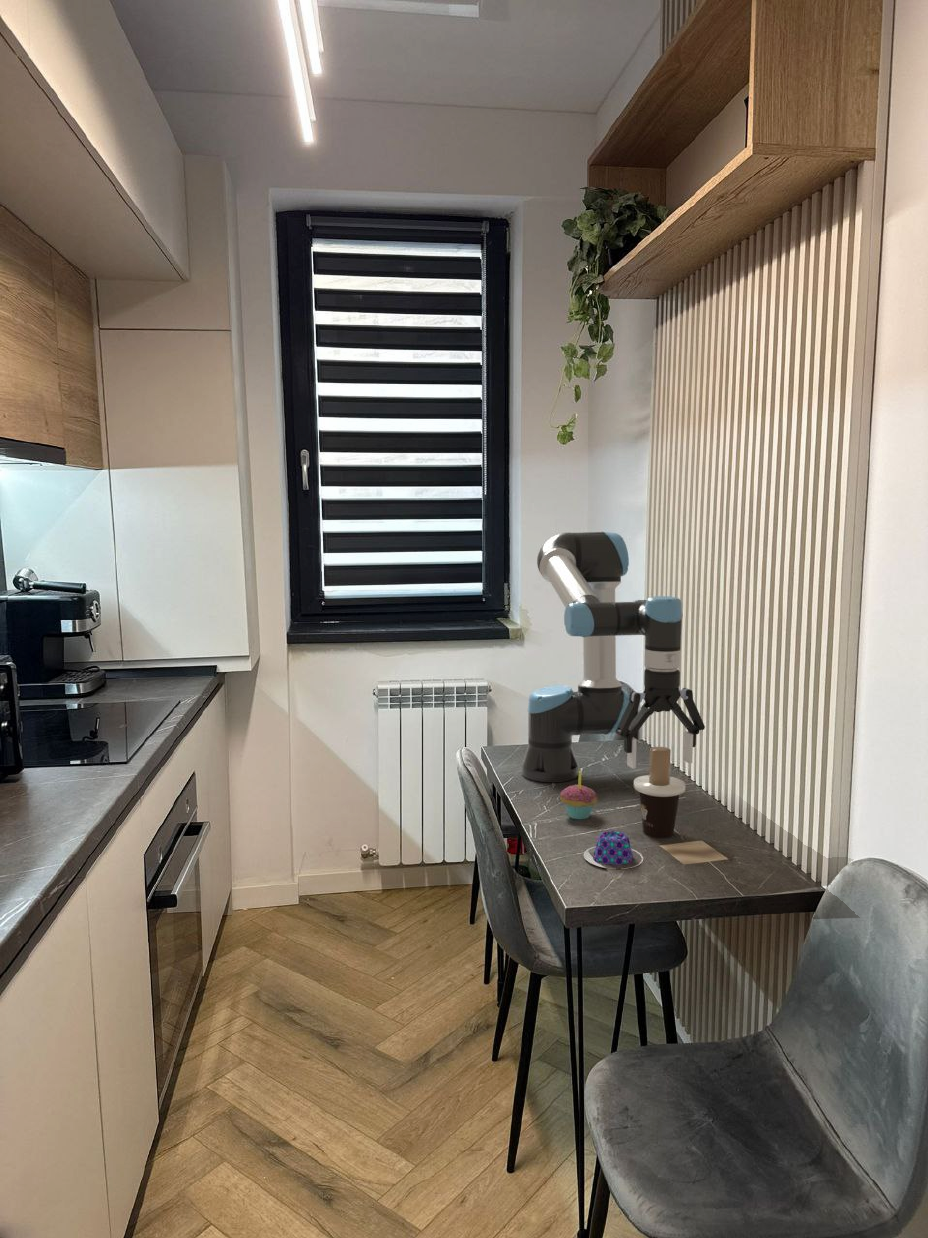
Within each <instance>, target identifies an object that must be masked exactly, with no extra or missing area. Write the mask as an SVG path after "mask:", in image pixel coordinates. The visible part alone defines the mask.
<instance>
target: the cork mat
mask: <svg viewBox="0 0 928 1238" xmlns="http://www.w3.org/2000/svg"><path fill="white" fill-rule="evenodd" d="M659 847H660V848H662V849H663V850H664V851H666V852H667V853H668V854H669V855H671V856H672V857H673V858H674V859H676V860H677V861H679V862H680V863H681V864H682V865H683V866H686V865H693V864H701V863H710V862H717V861H718V862H719V861H724V860H725V861H726V860H729V858H727V857H726V856H725V855H723V854H722V853H720V852H719V851H718V850H717V849H715V848H714V847H712V846H710V845H709V844H708V843H706V842H704V841H703V840H693V841H686V842H679V843H670V844H669V843H668V844H662V845H659Z"/></svg>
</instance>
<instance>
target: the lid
mask: <svg viewBox="0 0 928 1238" xmlns="http://www.w3.org/2000/svg"><path fill="white" fill-rule="evenodd" d="M671 753H672V751H671V748H669V747H664V746H652V747H650V748H649V765H648V766H649V770H648V772H649V774H647V775H639V776H637V777H636V778H634V779H633V789H634V790H635V791H636V792H638V793H639V792H641V793H644V794H647V795H653V796H676V795H679V796H680V795H682V794H685V791H686V782H685V781H684V780H682V779H680V778H677V777H675V776H671Z"/></svg>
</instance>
